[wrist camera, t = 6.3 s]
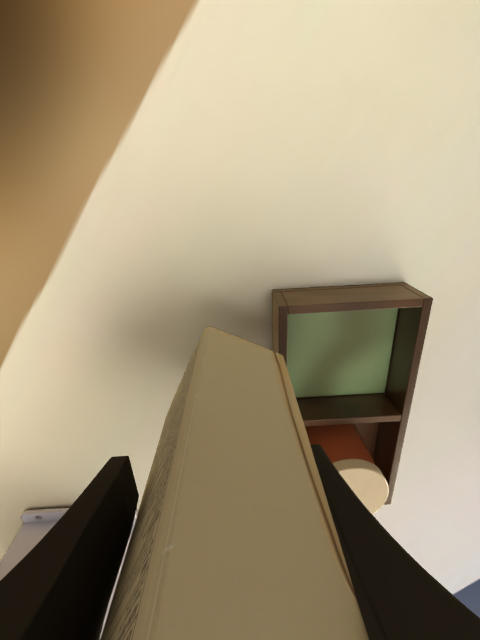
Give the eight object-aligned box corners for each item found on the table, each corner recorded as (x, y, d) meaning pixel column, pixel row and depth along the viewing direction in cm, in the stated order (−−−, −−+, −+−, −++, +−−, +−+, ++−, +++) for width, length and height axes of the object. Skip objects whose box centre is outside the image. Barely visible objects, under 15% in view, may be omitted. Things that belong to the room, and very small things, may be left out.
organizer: (273, 477, 26) (278, 511, 24) (271, 289, 20) (278, 306, 17) (374, 471, 26) (391, 504, 24) (405, 282, 20) (433, 298, 17)
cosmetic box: (236, 439, 18) (246, 855, 7) (161, 415, 17) (35, 842, 6) (286, 349, 16) (421, 747, 5) (203, 317, 15) (124, 706, 4)
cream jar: (296, 464, 25) (311, 524, 21) (298, 416, 23) (314, 471, 19) (356, 461, 25) (384, 519, 21) (363, 412, 23) (394, 466, 19)
